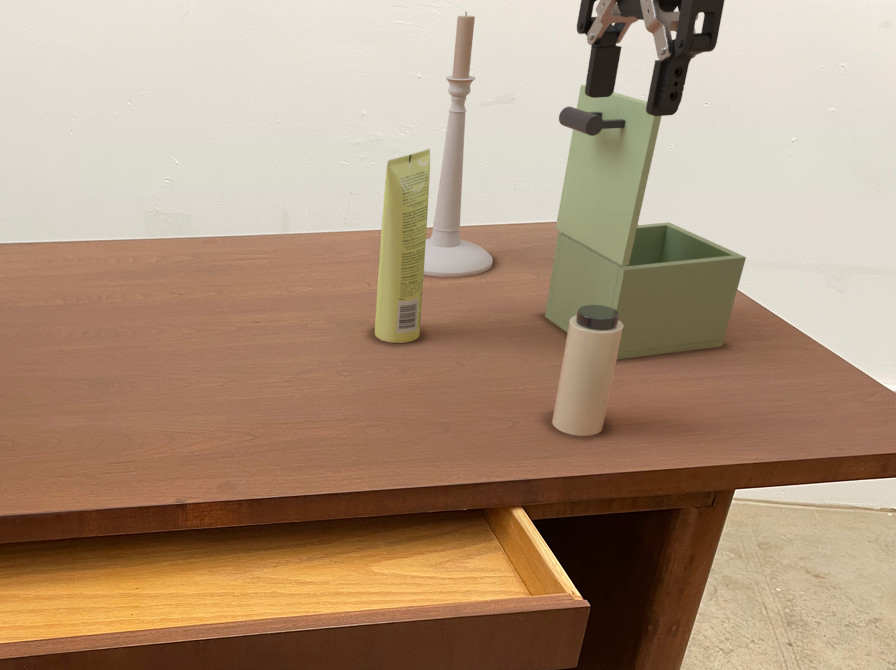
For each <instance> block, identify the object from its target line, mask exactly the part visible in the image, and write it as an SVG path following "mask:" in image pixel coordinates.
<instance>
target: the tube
mask: <svg viewBox="0 0 896 670" xmlns="http://www.w3.org/2000/svg"><path fill="white" fill-rule="evenodd" d="M386 162H387V163H386V171H385V181H384V194H383V206H382V217H381V229H380V230H381V231H380V243H379V245H380V246H379V257H378V259H379V260H378V274H377V288H376V289H377V290H376V303H375V321H374V337H376V338H377V339H378V340H380V341H382V342H386V343H391V344H407V343H411V342H414V341H416V340H418V339H419V337H420V333H421V319H422V308H423V307H422V306H423V292H424V291H423V290H424V261H425V245H426V239H427V230H428V229H427V227H428V213H429V211H428V210H429V193H430V178H431V177H430V176H431V149H430V147H429V148H426V149H423V150H420V151H416V152H413V153H410V154H406V155H402V156H398V157H393V158H391V159H387V161H386Z"/></svg>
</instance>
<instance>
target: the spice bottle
mask: <svg viewBox="0 0 896 670" xmlns="http://www.w3.org/2000/svg"><path fill="white" fill-rule="evenodd" d="M622 332H623V323H622V322H621V321H619V312H618V311H617V310H615V309H613V308H610V307H607V306H602V305H586V306H582V307H580V308H579V309H578V311H577V315H575V316H573V317H572V318H571V319H570V321H569V327H568V333H567V332H566V340H565V345H564V350H563V356H562V362H561V367H560V373H559V379H558V385H557V391H556V396H555V403H554V408H553V413H552V420H551V423H552V425H553V427H554V428H556V429H557V430H558V431H560V432H562V433H565V434H568V435H571V436H580V437H589V436H594V435H597V434H599V433H601V431H603V427H604V422H605V418H606V414H607V408H608V405H609V404H608V403H609V398H610V393H611V390H612V384H613V379H614V375H615V370H616V364H617V361H618V359H617V356H618V351H619V346H620V341H621V336H622Z"/></svg>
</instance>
